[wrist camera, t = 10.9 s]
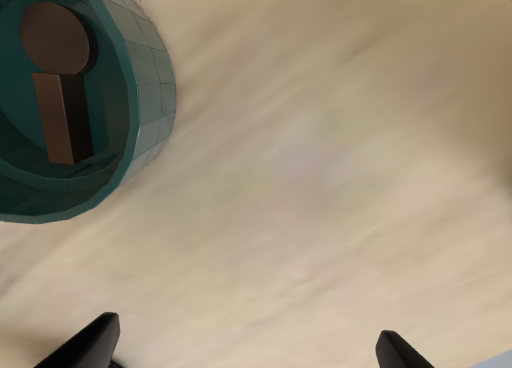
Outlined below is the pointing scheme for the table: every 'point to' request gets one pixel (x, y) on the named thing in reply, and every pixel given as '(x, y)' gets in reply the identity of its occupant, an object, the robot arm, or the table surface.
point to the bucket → (99, 113)
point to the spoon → (60, 76)
